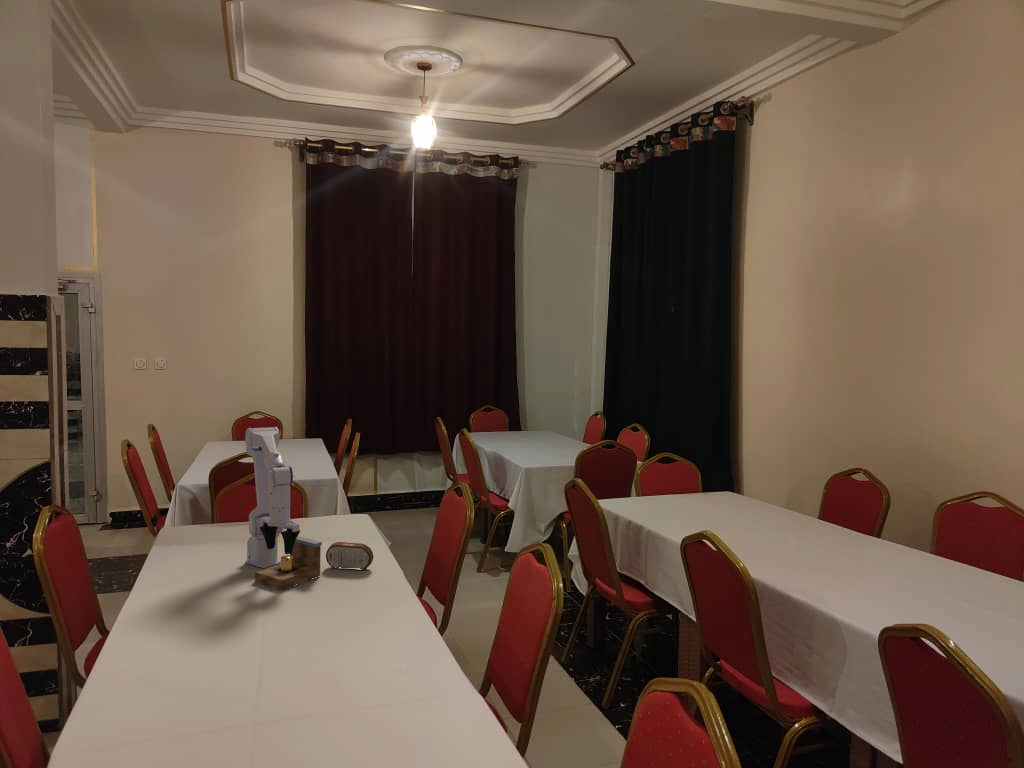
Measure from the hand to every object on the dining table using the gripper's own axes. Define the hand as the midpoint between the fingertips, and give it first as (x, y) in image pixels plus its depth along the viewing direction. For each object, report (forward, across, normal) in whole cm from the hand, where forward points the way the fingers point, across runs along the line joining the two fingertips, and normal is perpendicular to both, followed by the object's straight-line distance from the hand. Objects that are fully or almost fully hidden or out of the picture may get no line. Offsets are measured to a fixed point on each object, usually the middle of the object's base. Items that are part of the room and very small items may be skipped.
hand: (279, 550), depth 213 cm
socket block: (+9, +1, +2) cm, 9 cm away
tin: (+9, +10, +20) cm, 24 cm away
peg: (+9, +1, +2) cm, 9 cm away
